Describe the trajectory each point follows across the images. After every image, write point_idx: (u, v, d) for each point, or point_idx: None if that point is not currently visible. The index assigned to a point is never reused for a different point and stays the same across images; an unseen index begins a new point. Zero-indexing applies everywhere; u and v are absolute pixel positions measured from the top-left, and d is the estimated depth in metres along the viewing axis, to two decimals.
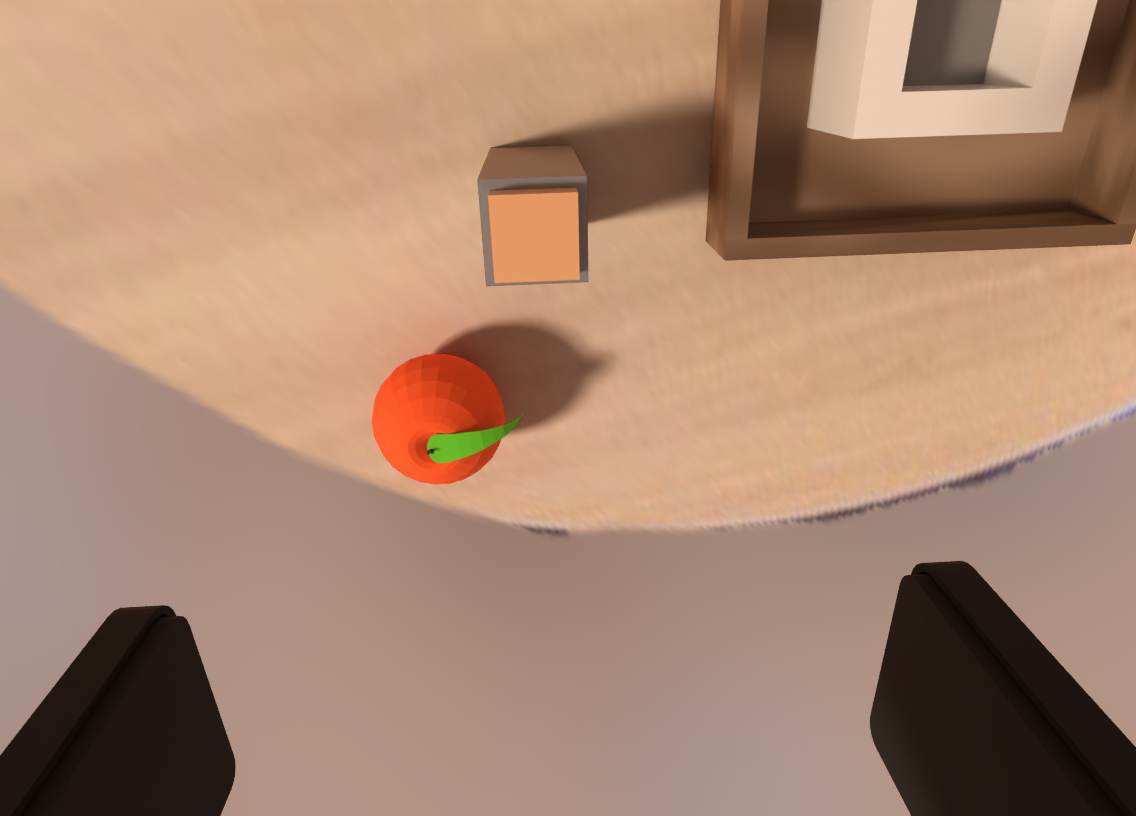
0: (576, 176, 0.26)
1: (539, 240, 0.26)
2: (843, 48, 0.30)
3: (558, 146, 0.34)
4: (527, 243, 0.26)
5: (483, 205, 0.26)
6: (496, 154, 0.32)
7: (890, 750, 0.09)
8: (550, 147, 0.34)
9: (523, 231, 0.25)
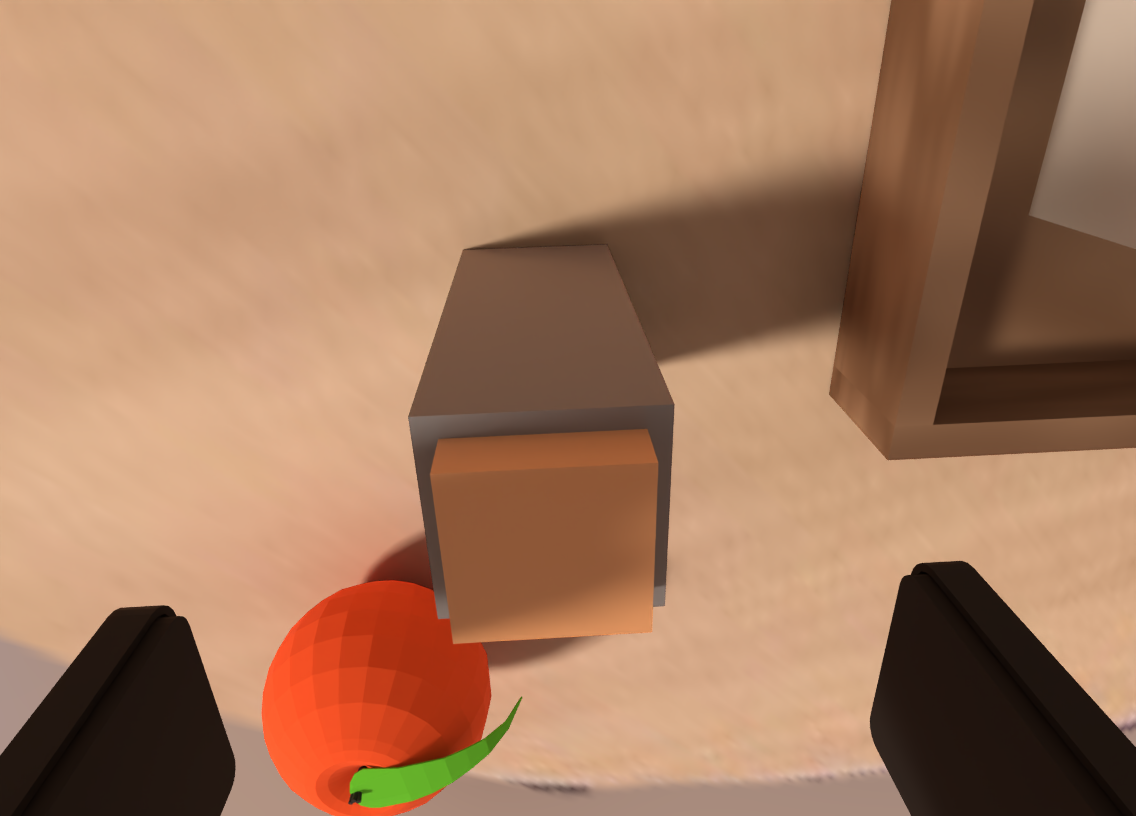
0: (648, 404, 0.11)
1: (559, 561, 0.11)
2: None
3: (584, 248, 0.19)
4: (531, 567, 0.11)
5: (425, 468, 0.11)
6: (470, 277, 0.17)
7: (890, 750, 0.09)
8: (570, 252, 0.19)
9: (520, 545, 0.10)
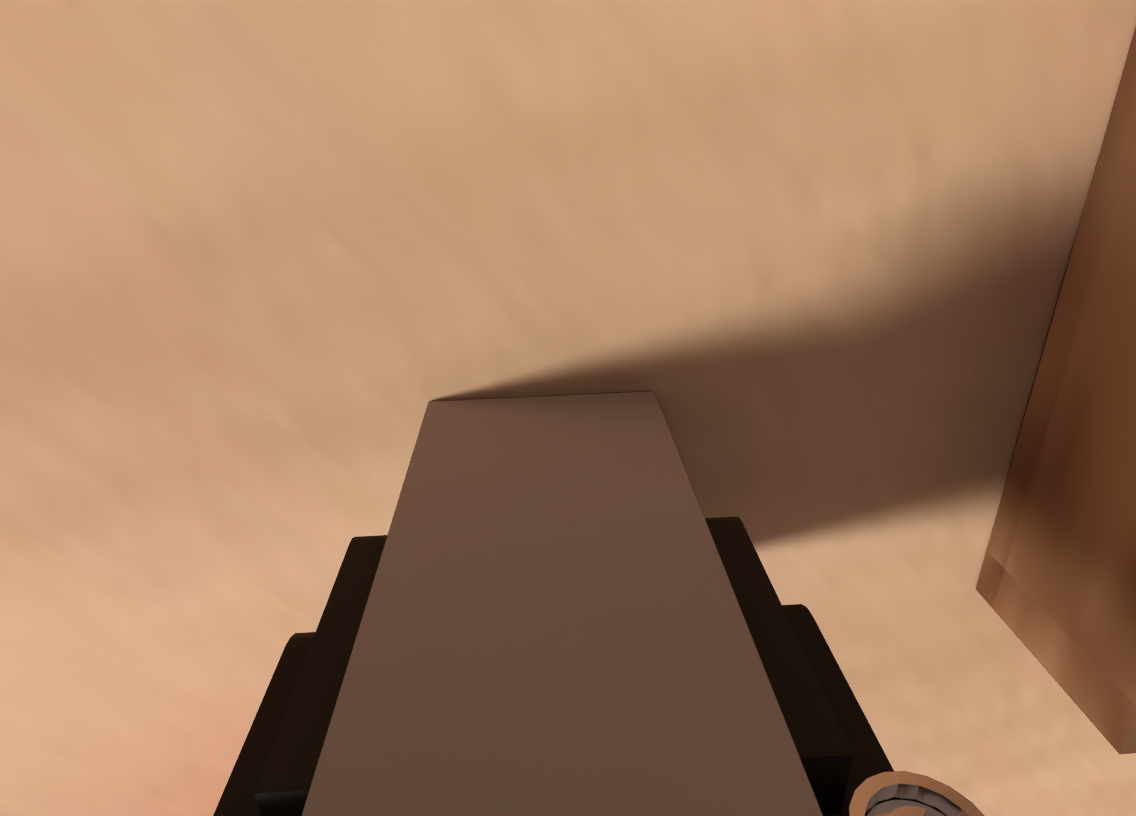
0: None
1: None
2: None
3: (619, 402, 0.12)
4: None
5: None
6: (432, 482, 0.10)
7: None
8: (598, 411, 0.12)
9: None
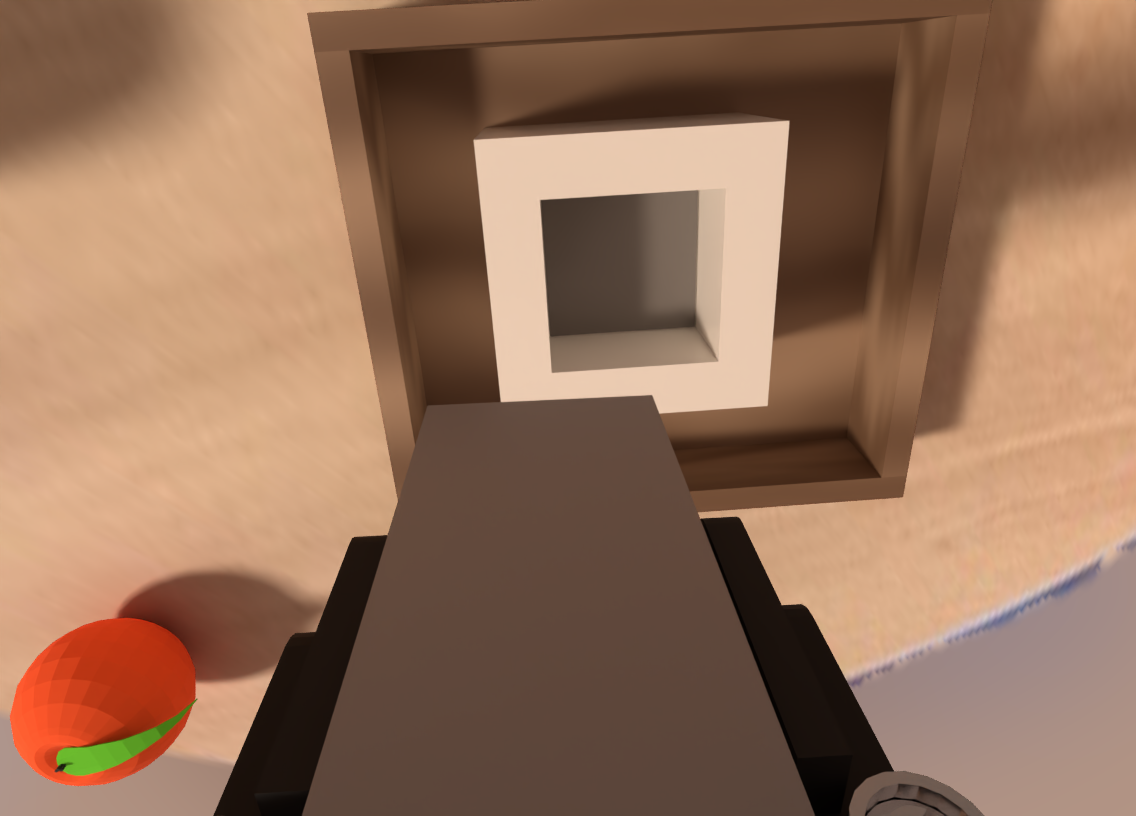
0: None
1: None
2: None
3: (618, 406, 0.12)
4: None
5: None
6: (431, 487, 0.10)
7: None
8: (596, 415, 0.12)
9: None
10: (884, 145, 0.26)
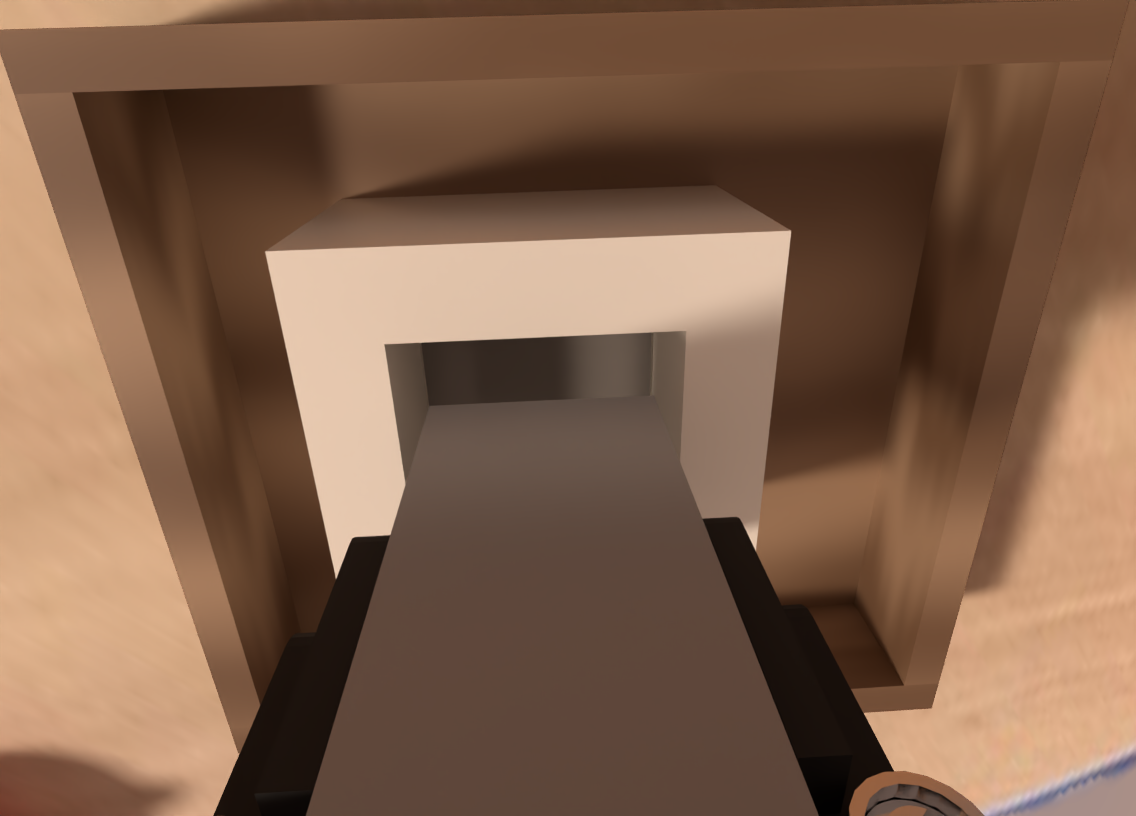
0: None
1: None
2: None
3: (619, 407, 0.12)
4: None
5: None
6: (433, 487, 0.10)
7: None
8: (598, 416, 0.12)
9: None
10: (924, 235, 0.18)
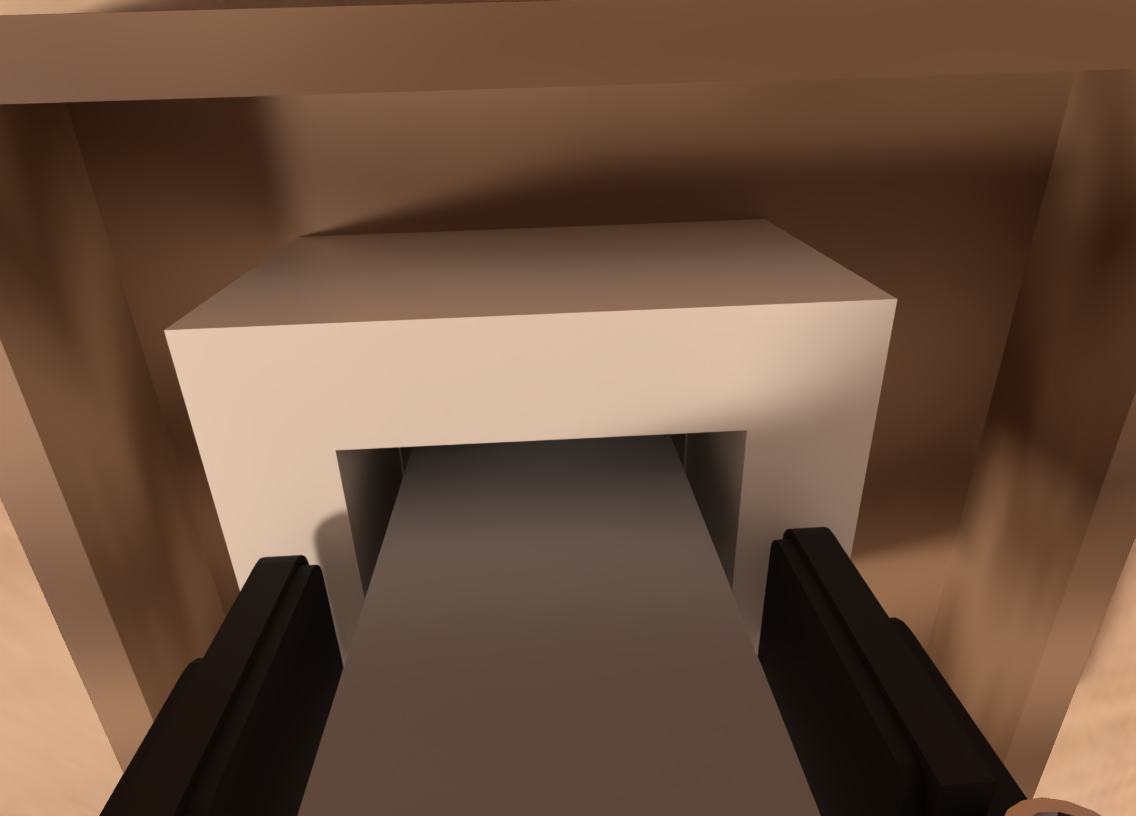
0: None
1: None
2: None
3: None
4: None
5: None
6: (434, 466, 0.10)
7: None
8: None
9: None
10: (1020, 278, 0.14)
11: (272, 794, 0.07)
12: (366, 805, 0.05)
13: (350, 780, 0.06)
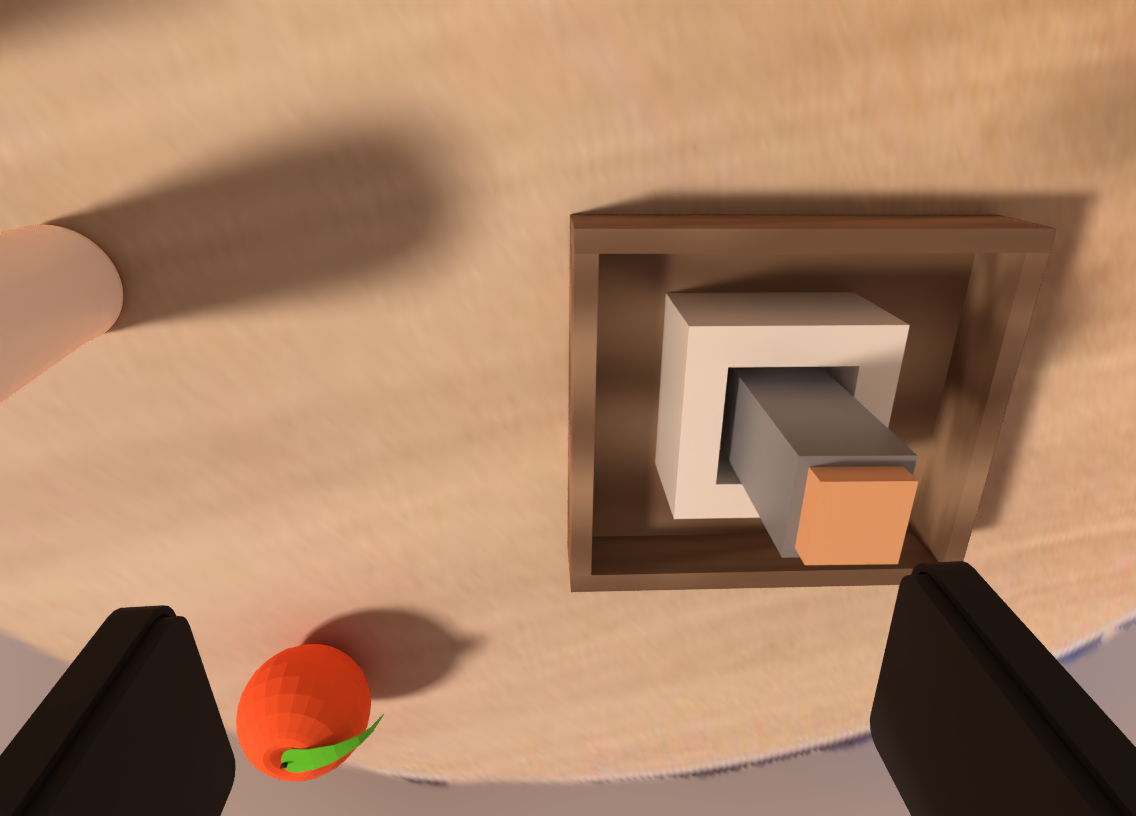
0: (905, 455, 0.23)
1: (864, 525, 0.23)
2: (670, 429, 0.32)
3: None
4: (851, 527, 0.23)
5: (798, 480, 0.23)
6: (749, 377, 0.30)
7: (890, 750, 0.09)
8: None
9: (849, 516, 0.23)
10: (958, 320, 0.34)
11: None
12: (793, 430, 0.25)
13: (786, 427, 0.25)
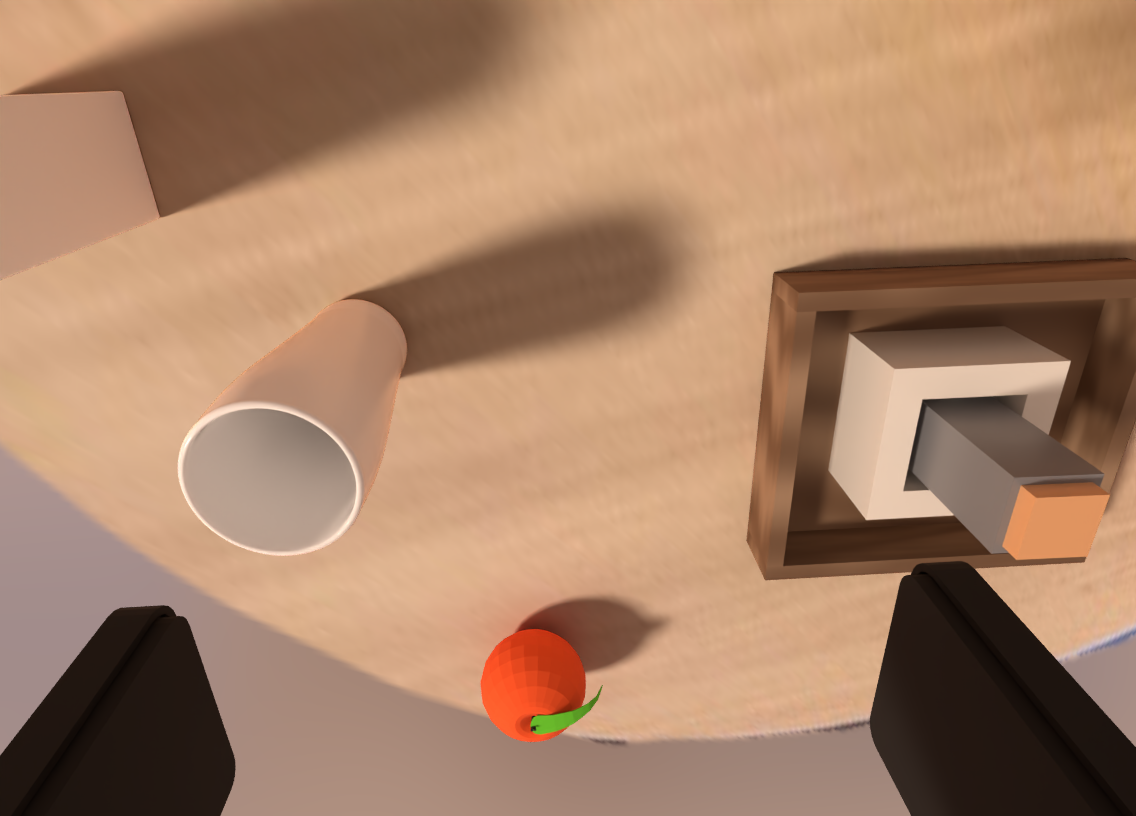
0: (1094, 473, 0.30)
1: (1065, 529, 0.30)
2: (858, 446, 0.39)
3: None
4: (1055, 530, 0.30)
5: (1011, 495, 0.30)
6: (934, 405, 0.36)
7: (890, 750, 0.09)
8: None
9: (1054, 522, 0.30)
10: (1090, 345, 0.41)
11: None
12: (997, 454, 0.32)
13: (991, 452, 0.32)
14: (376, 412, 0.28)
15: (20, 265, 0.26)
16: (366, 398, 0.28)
